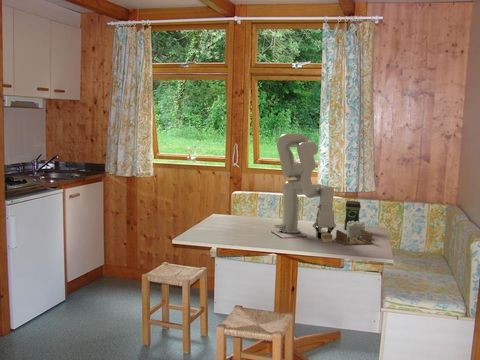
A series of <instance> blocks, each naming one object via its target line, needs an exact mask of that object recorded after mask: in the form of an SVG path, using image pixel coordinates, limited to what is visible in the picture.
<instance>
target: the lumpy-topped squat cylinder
mask: <svg viewBox="0 0 480 360" xmlns="http://www.w3.org/2000/svg"><path fill="white" fill-rule="evenodd" d="M345 230H346V229H345ZM361 230H365V231H366V225H365V223H364V222H363V221H361V222H360V220H359V221H356V222H355V221H349V222H348V223H347V230H346V234H347V238H348V237H350V238H357V235H360V234H361Z"/></svg>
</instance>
